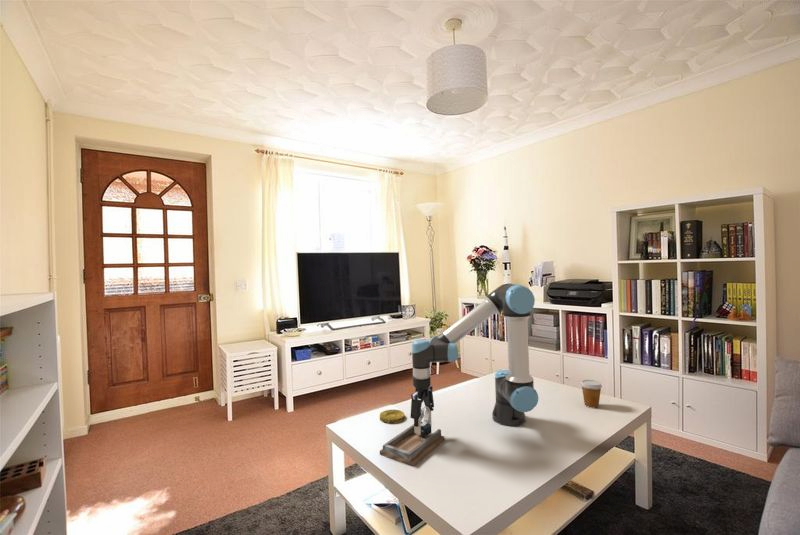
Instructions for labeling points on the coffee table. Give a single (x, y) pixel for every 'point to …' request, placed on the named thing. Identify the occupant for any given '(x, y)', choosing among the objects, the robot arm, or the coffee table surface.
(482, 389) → the coffee table surface
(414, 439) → the wooden tray
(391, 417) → the olive yellow flat disc
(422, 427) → the watch
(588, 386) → the disposable coffee cup
